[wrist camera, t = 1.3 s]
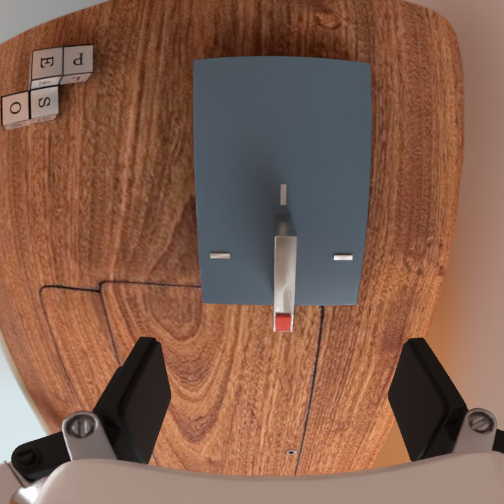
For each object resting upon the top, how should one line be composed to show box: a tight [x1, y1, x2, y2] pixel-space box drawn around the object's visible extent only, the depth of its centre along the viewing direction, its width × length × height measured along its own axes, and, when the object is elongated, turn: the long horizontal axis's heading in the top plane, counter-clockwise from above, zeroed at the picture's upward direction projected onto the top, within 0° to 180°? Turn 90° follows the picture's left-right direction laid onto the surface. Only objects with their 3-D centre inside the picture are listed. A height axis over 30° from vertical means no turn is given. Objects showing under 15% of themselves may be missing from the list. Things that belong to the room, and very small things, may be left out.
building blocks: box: [1, 44, 94, 131], centre depth 19 cm, size 5×5×8 cm
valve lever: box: [273, 215, 298, 332], centre depth 20 cm, size 6×1×5 cm, turn 0°
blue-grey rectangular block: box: [193, 56, 372, 305], centre depth 22 cm, size 19×12×3 cm, turn 0°
